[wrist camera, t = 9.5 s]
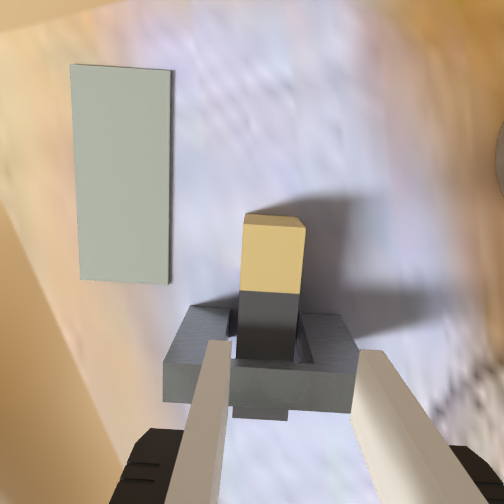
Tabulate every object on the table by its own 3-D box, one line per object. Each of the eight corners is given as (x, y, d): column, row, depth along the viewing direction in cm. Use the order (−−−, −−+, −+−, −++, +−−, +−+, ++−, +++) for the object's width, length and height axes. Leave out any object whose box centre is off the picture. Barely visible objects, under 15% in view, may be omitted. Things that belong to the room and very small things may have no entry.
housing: (335, 344, 34) (367, 414, 25) (189, 335, 34) (162, 401, 25) (339, 315, 34) (373, 375, 24) (189, 305, 34) (162, 362, 24)
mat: (168, 284, 33) (167, 285, 33) (81, 278, 33) (80, 279, 33) (170, 71, 29) (170, 70, 29) (71, 65, 29) (69, 64, 29)
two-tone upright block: (281, 379, 35) (287, 420, 29) (236, 376, 35) (232, 417, 29) (296, 216, 32) (306, 227, 26) (245, 213, 32) (243, 224, 26)
